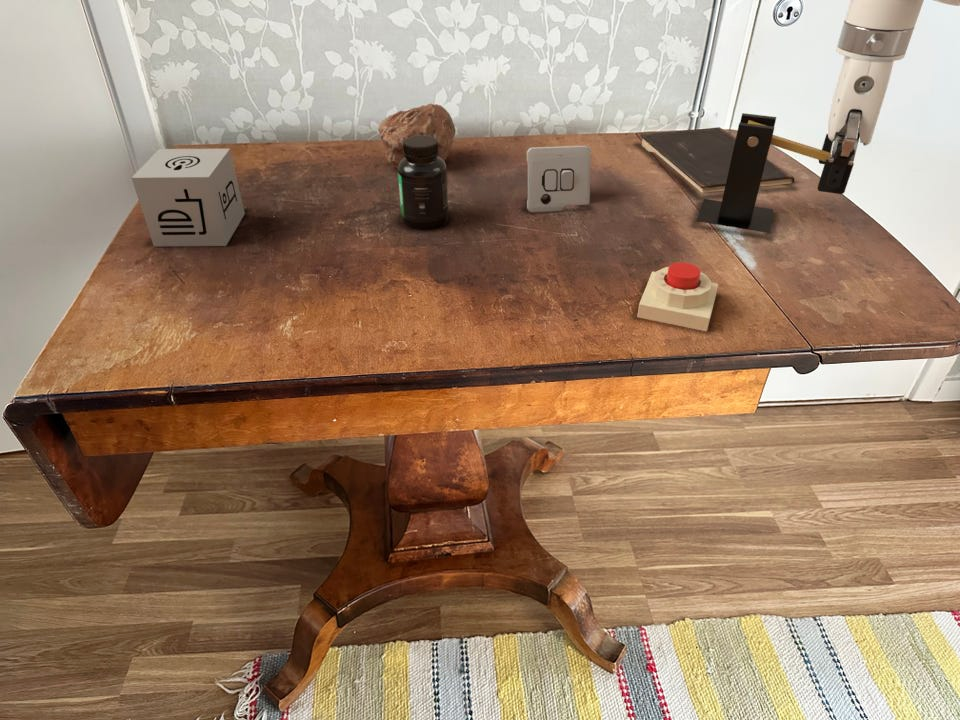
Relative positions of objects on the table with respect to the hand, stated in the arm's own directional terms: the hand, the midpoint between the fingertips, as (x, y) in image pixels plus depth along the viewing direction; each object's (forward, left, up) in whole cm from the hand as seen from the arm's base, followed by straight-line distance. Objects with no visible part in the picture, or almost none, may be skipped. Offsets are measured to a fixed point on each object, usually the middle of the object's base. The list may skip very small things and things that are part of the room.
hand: (830, 177), depth 94 cm
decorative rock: (+63, -3, -9) cm, 63 cm away
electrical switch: (+37, +4, -9) cm, 38 cm away
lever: (+6, 0, +2) cm, 6 cm away
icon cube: (+82, +30, -9) cm, 87 cm away
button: (+15, +26, -5) cm, 30 cm away
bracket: (+11, 0, -9) cm, 14 cm away
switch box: (+15, +26, -9) cm, 31 cm away
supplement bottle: (+53, +16, -9) cm, 56 cm away
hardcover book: (+16, -20, -9) cm, 27 cm away
